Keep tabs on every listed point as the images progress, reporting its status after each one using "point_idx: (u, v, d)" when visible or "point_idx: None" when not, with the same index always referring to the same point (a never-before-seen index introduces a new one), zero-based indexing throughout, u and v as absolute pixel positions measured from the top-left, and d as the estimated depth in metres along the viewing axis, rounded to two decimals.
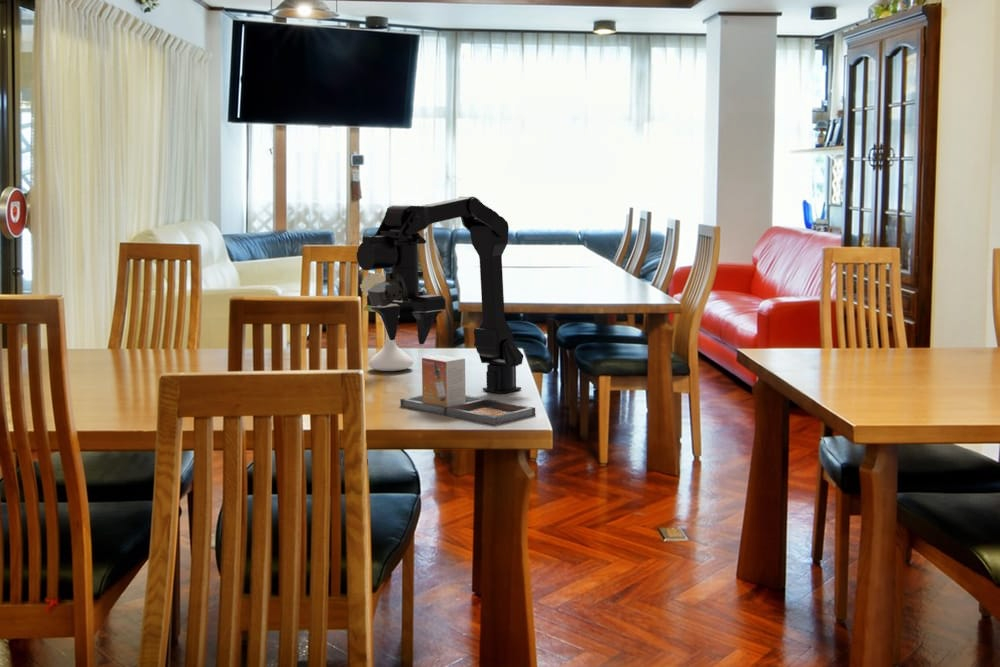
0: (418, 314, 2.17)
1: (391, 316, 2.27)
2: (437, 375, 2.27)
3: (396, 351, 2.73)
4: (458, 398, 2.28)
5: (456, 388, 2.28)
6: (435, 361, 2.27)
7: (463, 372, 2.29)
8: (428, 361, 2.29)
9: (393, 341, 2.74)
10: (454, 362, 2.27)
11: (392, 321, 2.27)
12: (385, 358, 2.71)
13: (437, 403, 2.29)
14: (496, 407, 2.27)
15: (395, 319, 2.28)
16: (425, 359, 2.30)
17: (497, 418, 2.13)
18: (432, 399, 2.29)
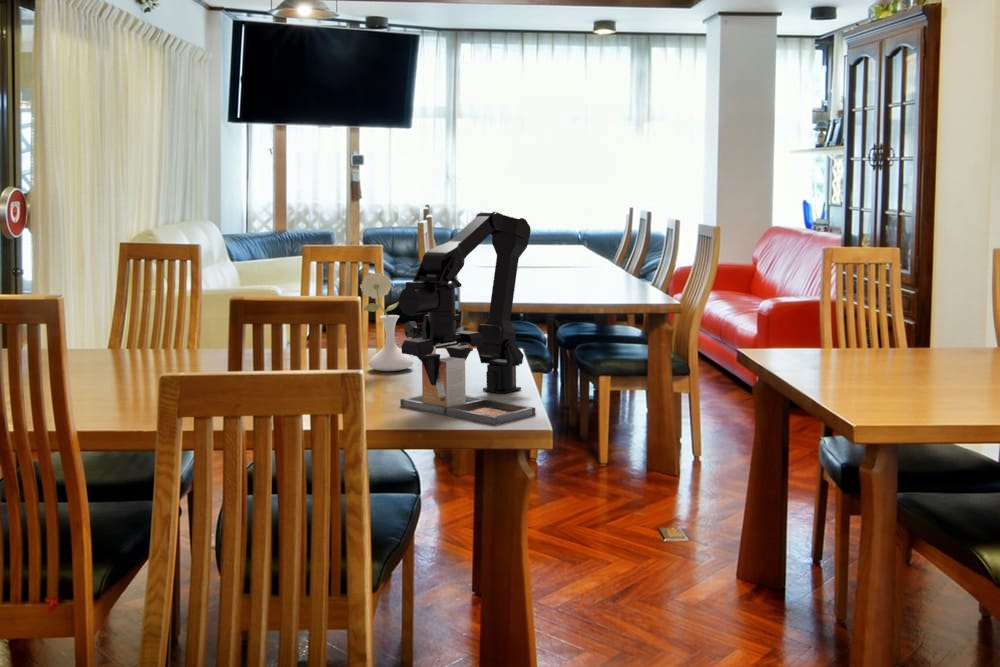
0: None
1: None
2: None
3: (396, 351, 2.73)
4: (458, 398, 2.28)
5: (456, 388, 2.28)
6: None
7: (463, 372, 2.29)
8: None
9: (393, 341, 2.74)
10: (454, 362, 2.27)
11: None
12: (385, 358, 2.71)
13: (437, 403, 2.29)
14: (496, 407, 2.27)
15: None
16: None
17: (497, 418, 2.13)
18: (432, 399, 2.29)
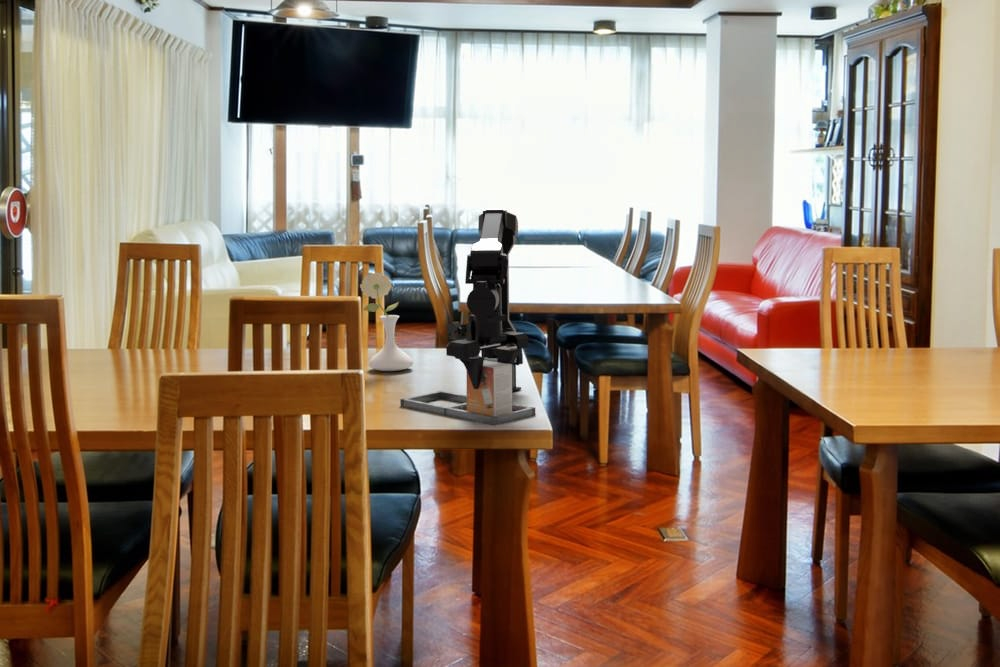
0: None
1: (502, 359, 2.23)
2: (483, 382, 2.18)
3: (396, 351, 2.73)
4: (504, 405, 2.19)
5: (503, 395, 2.19)
6: None
7: (510, 378, 2.20)
8: None
9: (393, 341, 2.74)
10: (501, 368, 2.18)
11: None
12: (385, 358, 2.71)
13: (483, 411, 2.19)
14: None
15: (505, 363, 2.22)
16: None
17: (497, 418, 2.13)
18: (478, 406, 2.20)
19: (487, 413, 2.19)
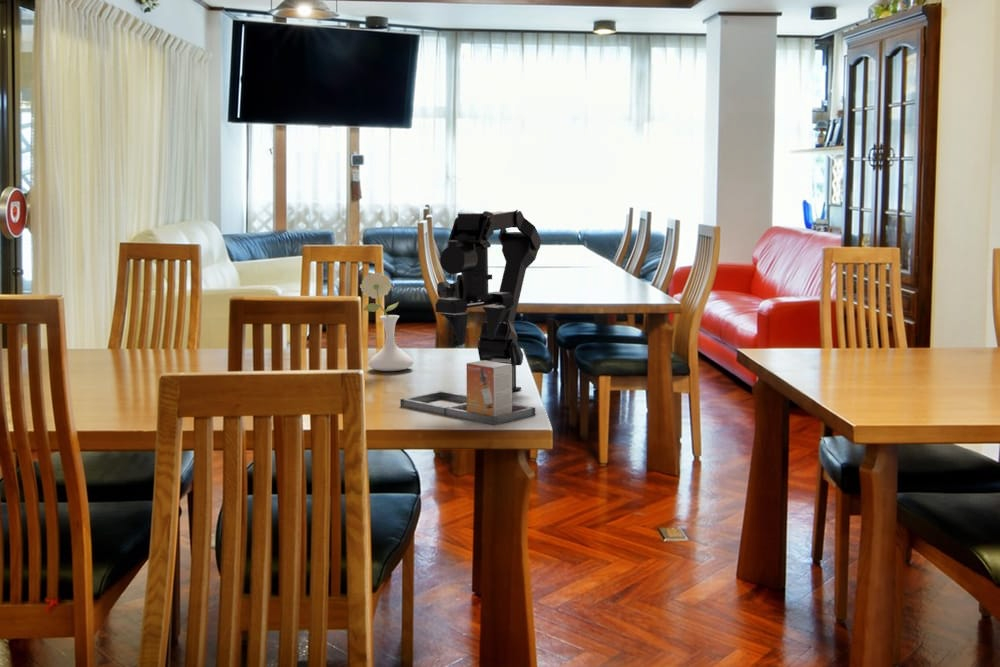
0: None
1: (492, 317, 2.36)
2: (483, 382, 2.18)
3: (396, 351, 2.73)
4: (504, 405, 2.19)
5: (503, 395, 2.19)
6: (481, 367, 2.18)
7: (510, 378, 2.20)
8: (473, 367, 2.20)
9: (393, 341, 2.74)
10: (501, 368, 2.18)
11: (492, 322, 2.36)
12: (385, 358, 2.71)
13: (483, 411, 2.19)
14: None
15: (495, 320, 2.36)
16: (470, 365, 2.20)
17: (497, 418, 2.13)
18: (478, 406, 2.20)
19: (487, 413, 2.19)
